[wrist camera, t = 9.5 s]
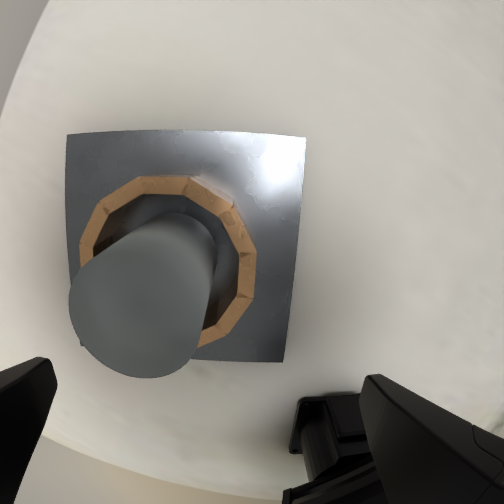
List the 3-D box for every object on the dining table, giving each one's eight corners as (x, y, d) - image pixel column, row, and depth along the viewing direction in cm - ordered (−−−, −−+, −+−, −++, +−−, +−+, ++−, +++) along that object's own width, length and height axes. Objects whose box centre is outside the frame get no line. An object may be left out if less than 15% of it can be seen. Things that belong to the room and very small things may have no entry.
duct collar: (281, 356, 21) (289, 390, 18) (85, 340, 20) (63, 369, 17) (303, 138, 18) (319, 132, 14) (72, 135, 17) (40, 131, 13)
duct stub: (219, 215, 18) (202, 256, 10) (215, 299, 19) (200, 385, 11) (132, 210, 17) (61, 246, 10) (134, 292, 19) (79, 367, 11)
